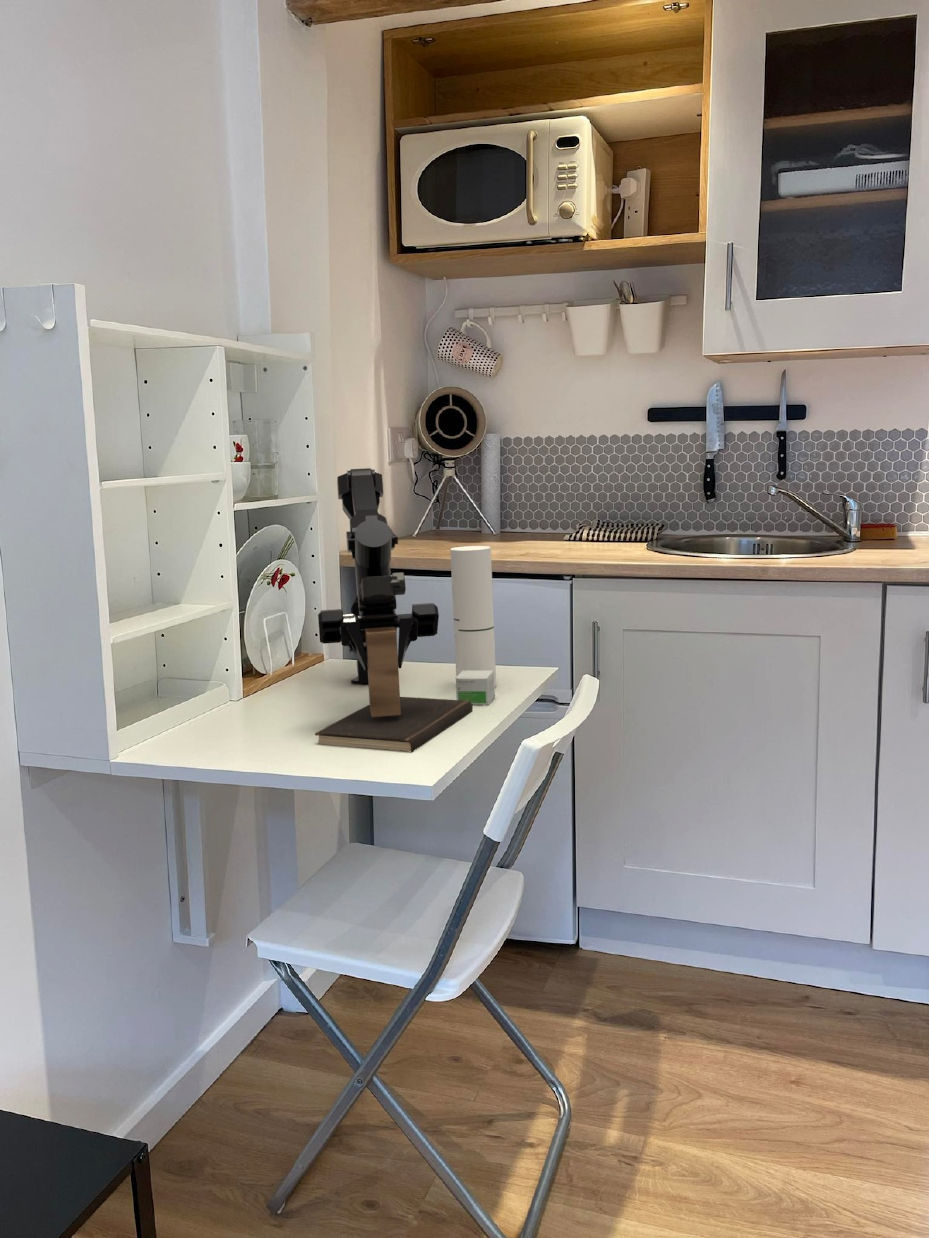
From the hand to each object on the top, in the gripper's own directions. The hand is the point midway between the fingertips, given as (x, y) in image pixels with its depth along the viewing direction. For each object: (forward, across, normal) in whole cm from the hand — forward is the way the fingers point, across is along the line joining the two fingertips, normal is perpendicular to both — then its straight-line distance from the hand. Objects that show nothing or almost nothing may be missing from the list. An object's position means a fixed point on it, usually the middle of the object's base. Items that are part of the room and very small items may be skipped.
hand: (383, 668), depth 157 cm
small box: (-2, +16, +17) cm, 24 cm away
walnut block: (+4, 0, +6) cm, 7 cm away
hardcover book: (+6, +2, +9) cm, 11 cm away
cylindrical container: (-10, +18, +24) cm, 32 cm away
